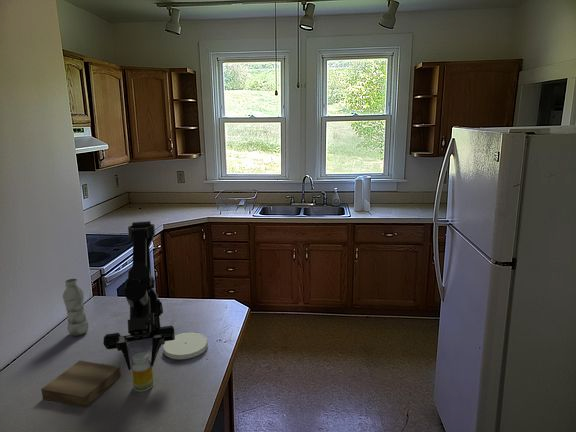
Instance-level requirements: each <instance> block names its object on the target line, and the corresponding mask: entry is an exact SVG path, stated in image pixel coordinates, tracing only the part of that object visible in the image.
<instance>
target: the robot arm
mask: <svg viewBox="0 0 576 432" xmlns="http://www.w3.org/2000/svg"><path fill="white" fill-rule="evenodd" d="M127 230H128V231H127V233H128V238H129V239H131V241H132V267H131V268H130V269H129V270H128V274H127V278H126V280H125V283H124V296H125V298H126V301H127V304H128V306H129V318H128V319H127V333H128V335H121V333H120V332H112V333H108V334H107V333H105V335H104V336H103V342H102V343H103V345H104V347H105V349H106V350H117V351H119V352H121V353H122V355H123V357H124V360H125V361H124V362H125V363H126V367H127V369H128V371H131V365H132V363H131V354H130V347H129V345H128V343H132V342H140V341H146V340H147V341H148V340H151V341H152V345H151V346H152V347H151V357H150V361H151V366H152V368H153V367H154V365H155V363H156V362H155V361H156V358H157V356H158V354H159V351H160V349H161V346H163V345H164V344H165V342H166V341H171V340H175V335H176V333H175V327H174V326H173V325H166V326H165V325H164V326H161V322H160V321H161V320H160V316H161V315H162V314H164V309H163V308H164V307H163V303H162V302H161V299H160V298H159V297H158V293H157V292H156V290H155V287H156V286H155V285H156V280H155V278H154V277H153V276H152V265H151V264H152V263H151V252H150V251H151V248H150V246H151V244H152V242H153V240H154V236H155V234H156V228H155V224H154V223H151V221H150V220H149V221H148V220H147V221H136V222H135V221H134V222H131V225H128V227H127Z"/></svg>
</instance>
